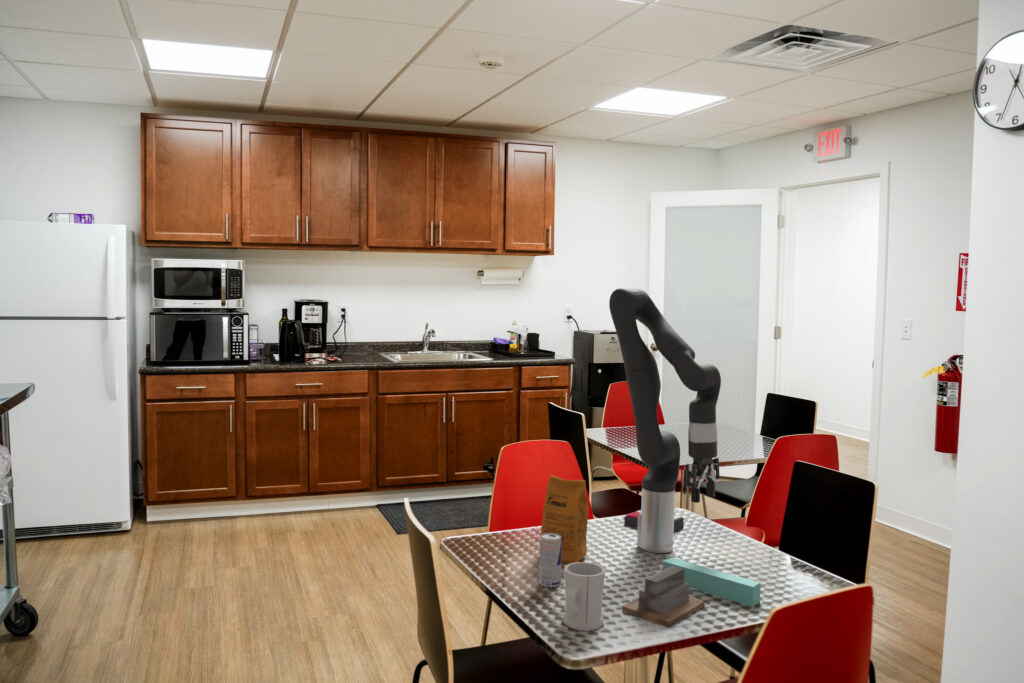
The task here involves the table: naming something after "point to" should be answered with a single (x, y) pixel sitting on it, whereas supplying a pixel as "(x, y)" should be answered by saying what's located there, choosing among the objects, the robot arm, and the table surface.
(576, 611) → the cup
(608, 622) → the table surface
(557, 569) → the energy drink
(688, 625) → the table surface
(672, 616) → the ridge block
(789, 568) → the table surface
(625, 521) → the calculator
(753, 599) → the teal bar
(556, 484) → the coffee package
